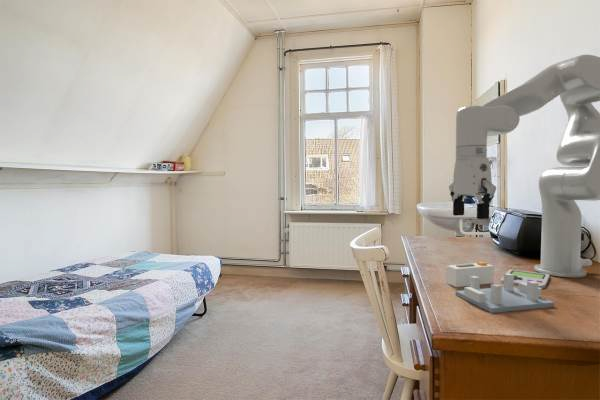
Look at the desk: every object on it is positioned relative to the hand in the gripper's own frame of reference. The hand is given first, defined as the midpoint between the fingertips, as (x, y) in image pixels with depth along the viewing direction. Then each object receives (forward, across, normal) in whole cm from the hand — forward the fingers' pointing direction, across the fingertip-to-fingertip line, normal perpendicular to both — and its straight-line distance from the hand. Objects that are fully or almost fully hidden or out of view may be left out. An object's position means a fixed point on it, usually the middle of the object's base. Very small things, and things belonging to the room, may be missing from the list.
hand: (470, 216), depth 95 cm
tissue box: (+18, 0, 0) cm, 18 cm away
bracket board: (+18, -14, +2) cm, 23 cm away
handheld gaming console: (+19, -1, -17) cm, 26 cm away
